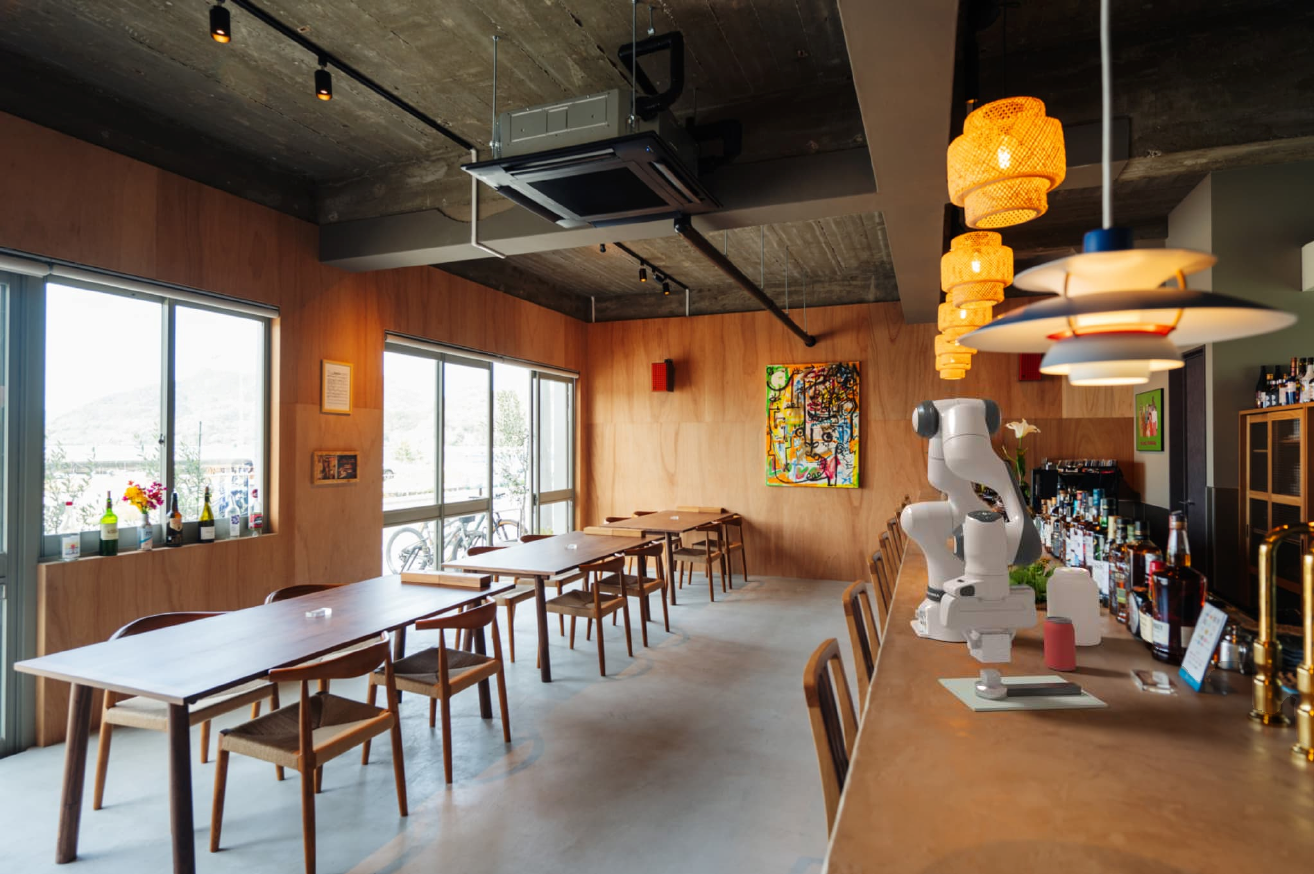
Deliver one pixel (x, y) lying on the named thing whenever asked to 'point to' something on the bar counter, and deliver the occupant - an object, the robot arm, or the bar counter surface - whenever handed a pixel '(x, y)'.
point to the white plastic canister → (1076, 602)
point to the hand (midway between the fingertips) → (989, 648)
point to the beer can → (1059, 644)
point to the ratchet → (1019, 687)
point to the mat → (966, 693)
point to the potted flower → (1034, 579)
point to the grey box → (991, 645)
